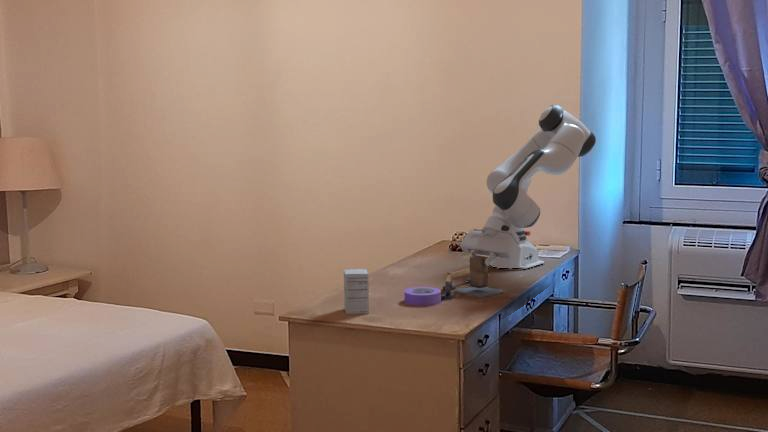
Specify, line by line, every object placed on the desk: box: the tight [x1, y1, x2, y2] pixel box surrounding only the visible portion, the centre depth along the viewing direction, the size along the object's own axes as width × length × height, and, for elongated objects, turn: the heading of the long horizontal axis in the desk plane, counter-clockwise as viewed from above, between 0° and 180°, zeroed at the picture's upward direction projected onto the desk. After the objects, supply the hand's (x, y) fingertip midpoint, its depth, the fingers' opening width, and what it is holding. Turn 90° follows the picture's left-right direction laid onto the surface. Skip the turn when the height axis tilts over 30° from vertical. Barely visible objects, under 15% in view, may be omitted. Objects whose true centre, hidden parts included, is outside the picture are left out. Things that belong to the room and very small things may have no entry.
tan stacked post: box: [469, 255, 489, 288], centre depth 304 cm, size 4×4×10 cm
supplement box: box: [343, 268, 370, 315], centre depth 279 cm, size 7×7×13 cm
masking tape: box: [403, 286, 442, 307], centre depth 292 cm, size 12×12×4 cm
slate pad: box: [453, 286, 505, 299], centre depth 305 cm, size 12×12×1 cm
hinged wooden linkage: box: [441, 266, 470, 300], centre depth 310 cm, size 32×8×6 cm, turn 158°
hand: (478, 263), depth 303 cm, fingers closed on tan stacked post, 4 cm apart
